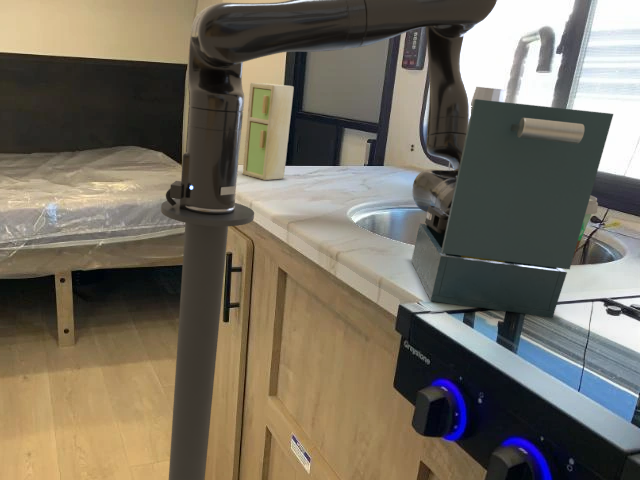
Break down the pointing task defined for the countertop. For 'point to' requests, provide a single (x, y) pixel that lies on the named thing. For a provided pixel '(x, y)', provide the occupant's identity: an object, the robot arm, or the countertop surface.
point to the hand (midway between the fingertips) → (493, 238)
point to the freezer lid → (524, 182)
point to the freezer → (484, 279)
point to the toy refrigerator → (267, 130)
